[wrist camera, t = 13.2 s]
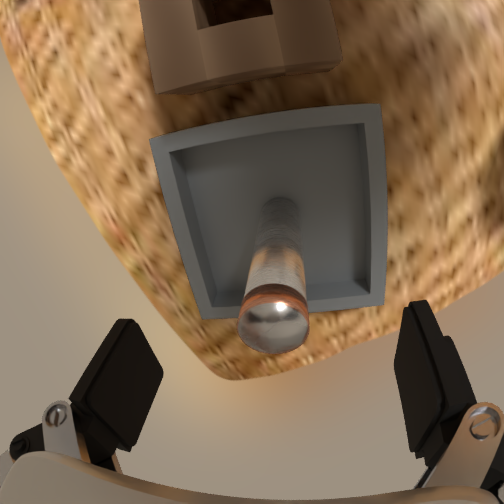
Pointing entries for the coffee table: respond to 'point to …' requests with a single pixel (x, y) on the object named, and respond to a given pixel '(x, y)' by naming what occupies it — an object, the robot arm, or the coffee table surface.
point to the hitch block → (235, 44)
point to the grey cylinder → (276, 283)
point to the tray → (280, 185)
